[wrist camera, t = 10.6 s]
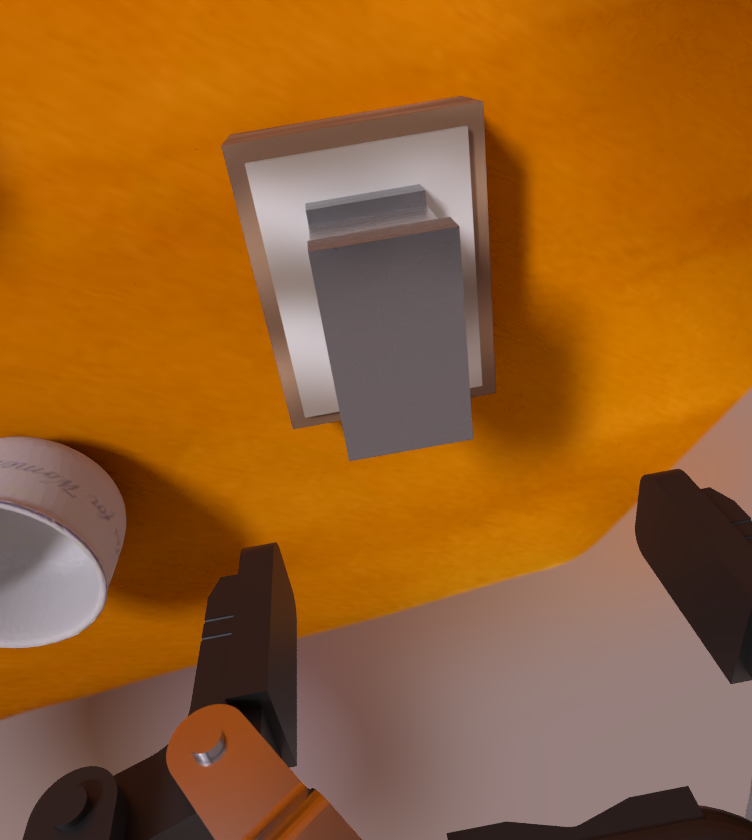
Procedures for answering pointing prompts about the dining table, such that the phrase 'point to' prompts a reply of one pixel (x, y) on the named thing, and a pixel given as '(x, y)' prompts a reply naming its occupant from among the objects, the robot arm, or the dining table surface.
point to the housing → (392, 319)
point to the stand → (345, 176)
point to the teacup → (54, 541)
